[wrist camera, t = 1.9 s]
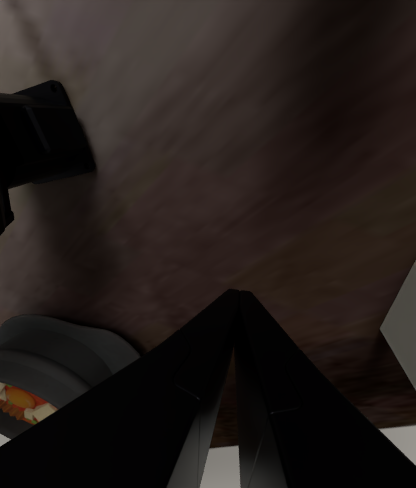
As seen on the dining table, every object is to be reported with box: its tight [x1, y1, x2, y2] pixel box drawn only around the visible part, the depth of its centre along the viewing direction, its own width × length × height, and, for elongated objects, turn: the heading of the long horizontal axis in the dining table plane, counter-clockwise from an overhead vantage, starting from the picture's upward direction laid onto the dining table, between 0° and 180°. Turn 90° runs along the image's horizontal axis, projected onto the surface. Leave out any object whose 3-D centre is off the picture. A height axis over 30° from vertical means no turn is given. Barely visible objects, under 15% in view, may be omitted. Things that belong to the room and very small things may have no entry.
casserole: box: [0, 314, 141, 439], centre depth 30 cm, size 25×19×8 cm
